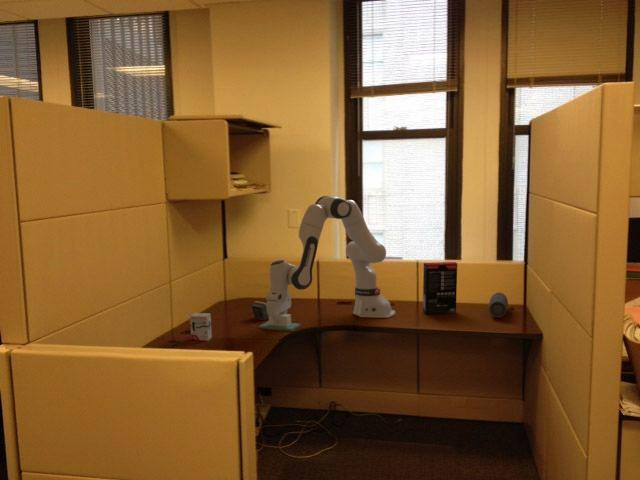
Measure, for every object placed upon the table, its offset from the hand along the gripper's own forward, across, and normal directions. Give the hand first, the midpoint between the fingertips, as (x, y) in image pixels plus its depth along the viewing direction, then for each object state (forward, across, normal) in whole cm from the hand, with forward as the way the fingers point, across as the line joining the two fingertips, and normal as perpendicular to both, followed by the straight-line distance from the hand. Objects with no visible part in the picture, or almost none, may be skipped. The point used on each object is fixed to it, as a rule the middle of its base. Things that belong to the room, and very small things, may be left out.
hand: (280, 320), depth 284 cm
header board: (+3, 0, 0) cm, 3 cm away
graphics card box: (+4, -53, +69) cm, 87 cm away
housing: (+2, 0, 0) cm, 2 cm away
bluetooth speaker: (+4, -58, +99) cm, 114 cm away
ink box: (+4, +30, -26) cm, 40 cm away
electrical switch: (+4, -12, -17) cm, 21 cm away
